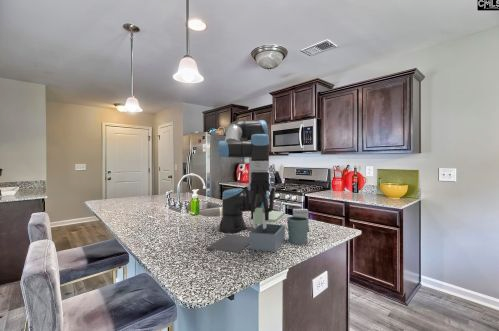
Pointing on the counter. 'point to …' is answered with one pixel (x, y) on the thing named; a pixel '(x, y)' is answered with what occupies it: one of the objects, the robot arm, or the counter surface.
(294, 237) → the teal cup
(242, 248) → the mat
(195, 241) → the counter surface
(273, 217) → the lid
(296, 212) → the ink box
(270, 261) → the counter surface
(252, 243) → the tub
